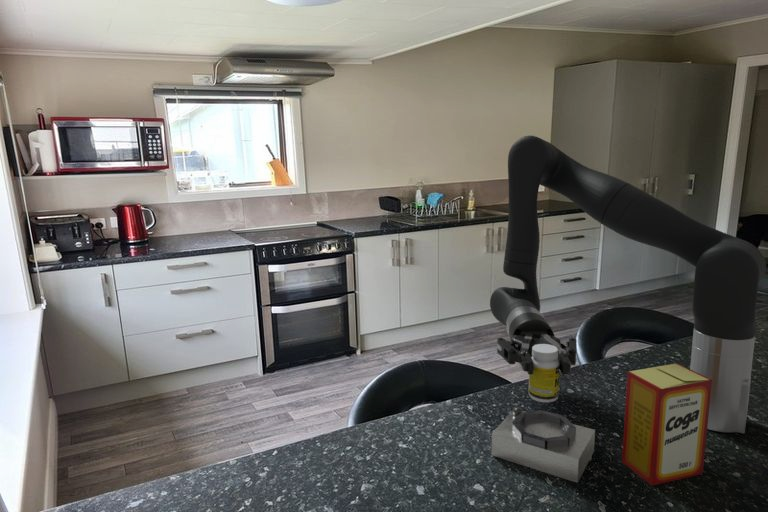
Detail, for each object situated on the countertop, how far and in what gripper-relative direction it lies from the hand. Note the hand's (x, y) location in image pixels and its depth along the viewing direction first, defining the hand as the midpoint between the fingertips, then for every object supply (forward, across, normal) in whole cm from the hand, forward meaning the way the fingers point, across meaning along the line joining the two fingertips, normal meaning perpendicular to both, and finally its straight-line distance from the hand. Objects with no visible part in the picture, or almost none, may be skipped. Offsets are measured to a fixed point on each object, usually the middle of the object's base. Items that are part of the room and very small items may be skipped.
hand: (548, 368), depth 83 cm
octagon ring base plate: (-2, 0, +16) cm, 16 cm away
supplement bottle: (-3, 0, +6) cm, 7 cm away
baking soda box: (+1, +18, +16) cm, 24 cm away
